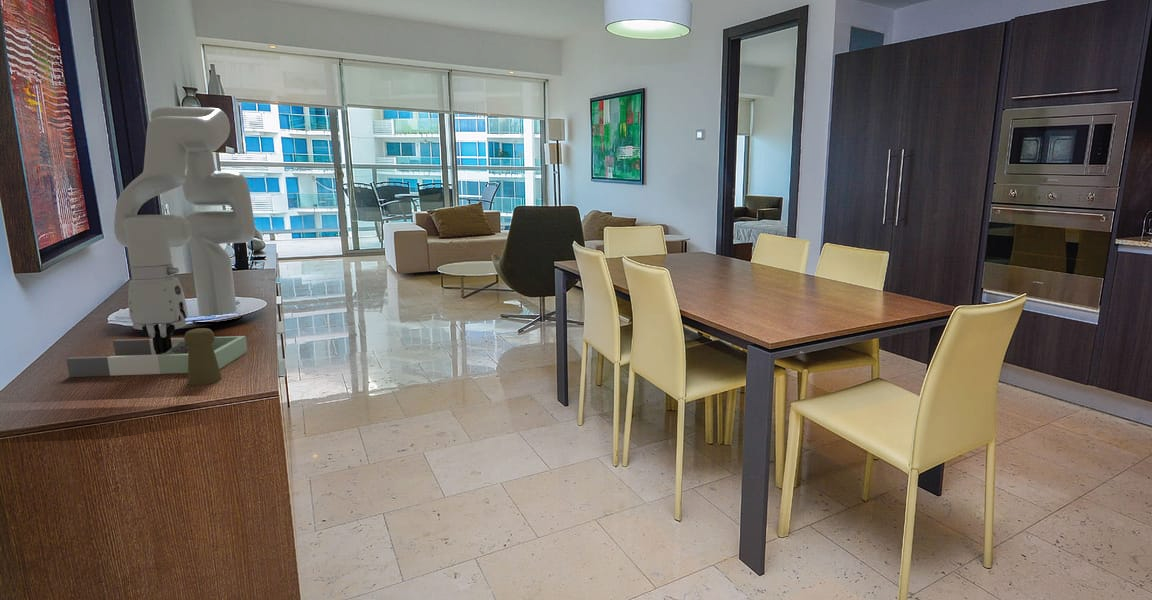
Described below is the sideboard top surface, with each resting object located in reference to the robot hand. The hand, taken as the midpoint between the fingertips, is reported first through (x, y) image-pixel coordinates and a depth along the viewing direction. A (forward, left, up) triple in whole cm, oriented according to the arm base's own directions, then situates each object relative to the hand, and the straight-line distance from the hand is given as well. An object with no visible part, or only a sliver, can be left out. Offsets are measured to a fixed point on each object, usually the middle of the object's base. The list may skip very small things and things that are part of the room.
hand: (163, 353), depth 132 cm
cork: (+14, +15, -3) cm, 21 cm away
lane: (0, -1, -3) cm, 3 cm away
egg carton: (0, +8, -3) cm, 9 cm away
